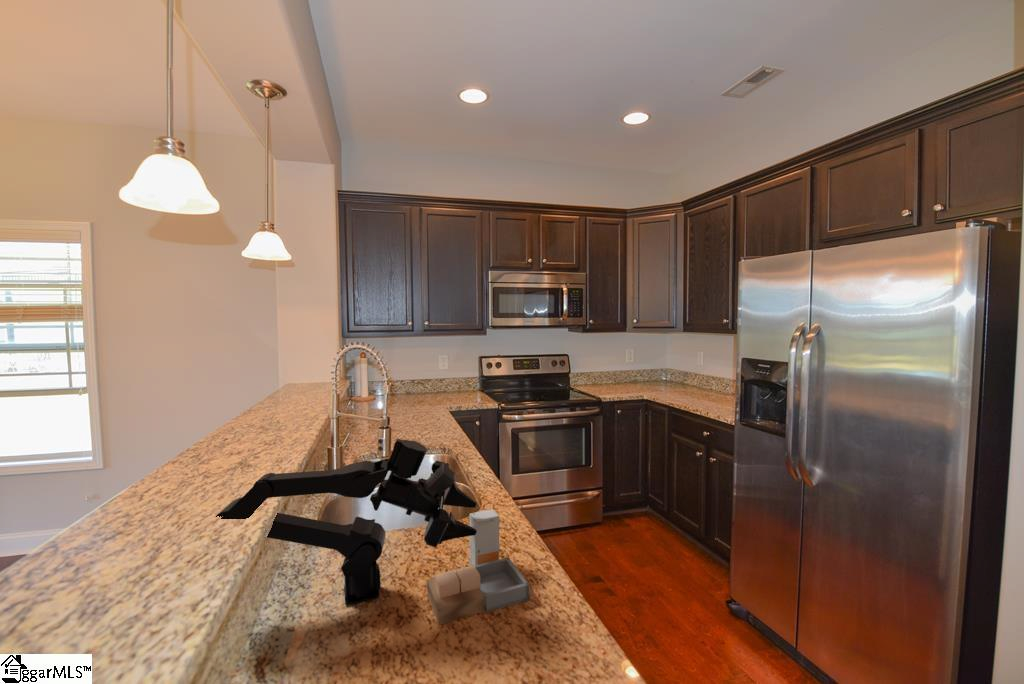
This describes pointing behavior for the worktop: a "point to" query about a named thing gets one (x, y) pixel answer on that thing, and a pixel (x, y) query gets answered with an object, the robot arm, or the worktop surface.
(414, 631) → the worktop surface
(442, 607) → the board
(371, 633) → the worktop surface
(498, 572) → the tray
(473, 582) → the tile
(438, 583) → the tile
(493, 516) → the skincare box
